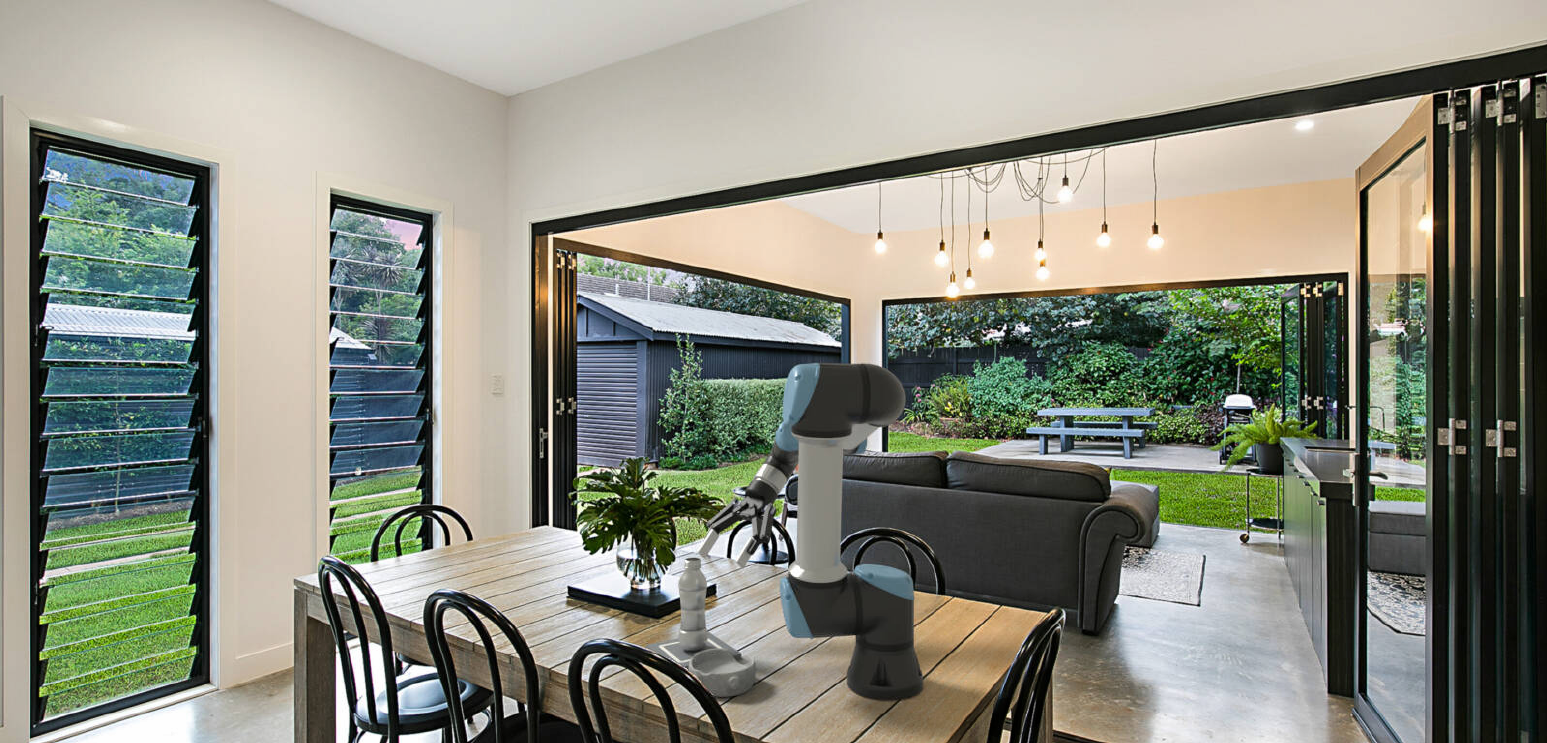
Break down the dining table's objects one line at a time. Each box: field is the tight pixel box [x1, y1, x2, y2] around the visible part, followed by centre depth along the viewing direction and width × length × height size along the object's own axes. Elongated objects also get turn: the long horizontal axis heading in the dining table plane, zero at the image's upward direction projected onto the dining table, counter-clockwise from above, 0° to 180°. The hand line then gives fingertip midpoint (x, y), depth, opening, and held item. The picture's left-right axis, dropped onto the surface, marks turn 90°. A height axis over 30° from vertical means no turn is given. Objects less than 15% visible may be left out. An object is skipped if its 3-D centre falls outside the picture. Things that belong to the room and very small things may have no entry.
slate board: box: [645, 631, 742, 670], centre depth 164 cm, size 16×16×1 cm
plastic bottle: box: [677, 557, 708, 651], centre depth 164 cm, size 6×7×20 cm
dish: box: [687, 648, 757, 698], centre depth 147 cm, size 14×14×5 cm
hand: (719, 560), depth 169 cm, fingers open, 13 cm apart
